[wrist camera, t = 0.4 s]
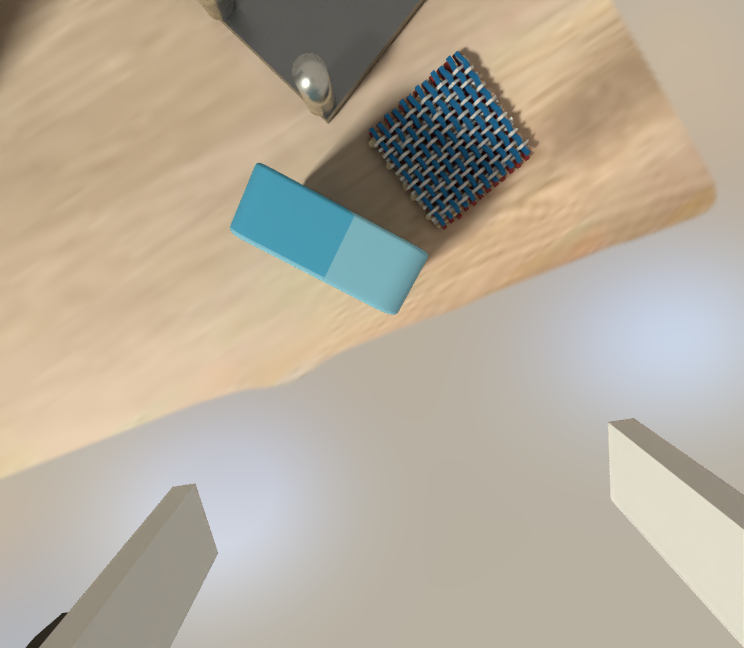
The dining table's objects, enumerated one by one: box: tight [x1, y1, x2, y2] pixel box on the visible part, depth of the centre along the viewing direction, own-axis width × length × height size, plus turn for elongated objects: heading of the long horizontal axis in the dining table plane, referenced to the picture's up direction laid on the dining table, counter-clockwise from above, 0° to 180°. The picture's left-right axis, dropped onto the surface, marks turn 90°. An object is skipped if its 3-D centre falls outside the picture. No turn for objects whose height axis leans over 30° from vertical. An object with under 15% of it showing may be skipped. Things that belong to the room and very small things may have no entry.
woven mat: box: [368, 51, 530, 229], centre depth 31 cm, size 10×11×2 cm
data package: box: [230, 163, 428, 315], centre depth 27 cm, size 12×4×12 cm, turn 63°
